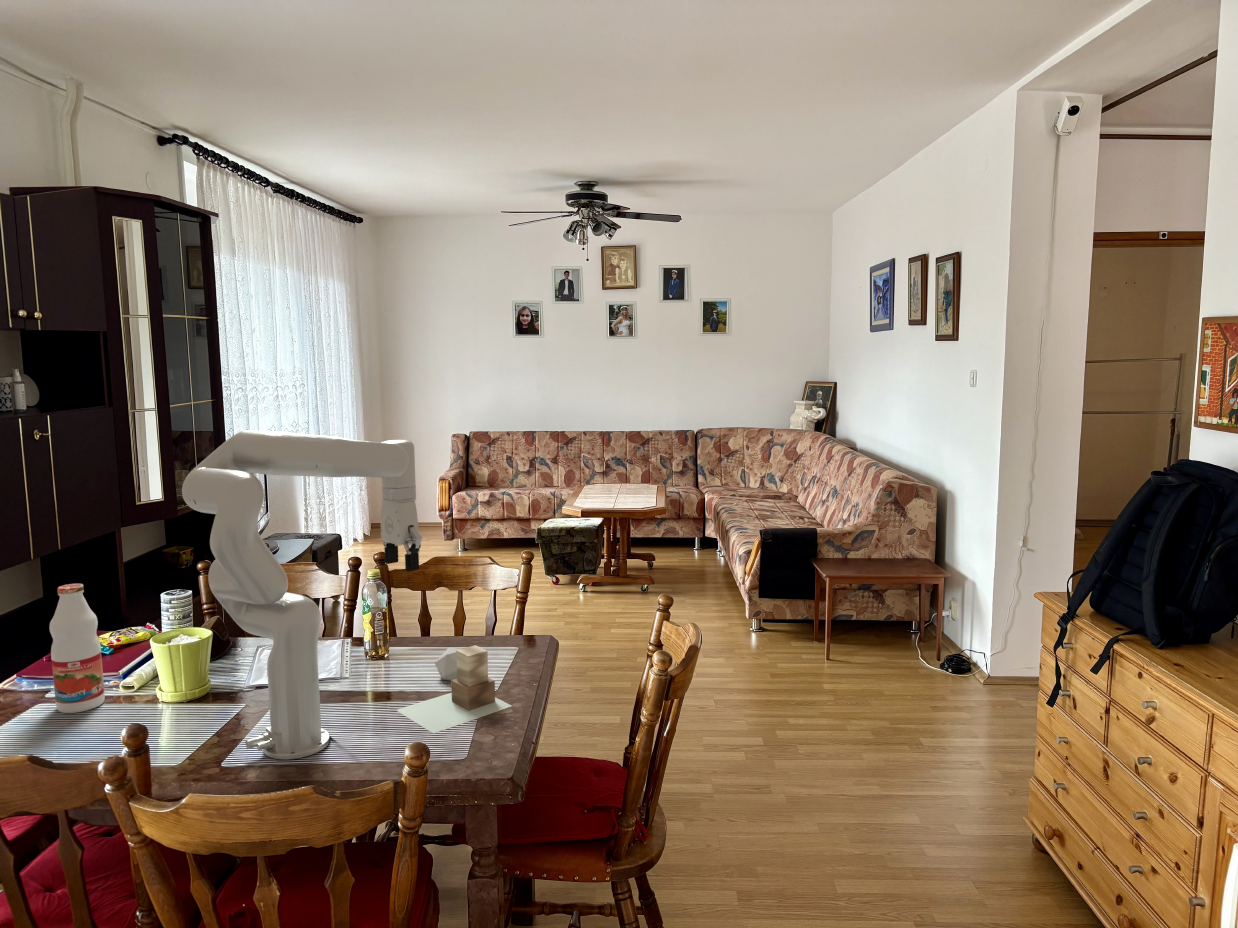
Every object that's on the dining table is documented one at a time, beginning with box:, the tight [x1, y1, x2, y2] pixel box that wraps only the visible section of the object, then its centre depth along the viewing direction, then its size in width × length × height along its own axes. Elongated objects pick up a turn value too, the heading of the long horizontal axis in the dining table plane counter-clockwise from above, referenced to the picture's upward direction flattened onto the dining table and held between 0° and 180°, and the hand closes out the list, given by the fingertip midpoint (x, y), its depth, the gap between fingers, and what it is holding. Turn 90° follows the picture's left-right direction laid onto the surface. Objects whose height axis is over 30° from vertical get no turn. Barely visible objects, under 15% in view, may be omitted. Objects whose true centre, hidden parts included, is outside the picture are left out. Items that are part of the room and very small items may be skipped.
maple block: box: [456, 644, 489, 686], centre depth 186 cm, size 5×5×7 cm
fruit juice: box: [49, 583, 106, 714], centre depth 187 cm, size 9×9×28 cm
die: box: [434, 647, 461, 682], centre depth 202 cm, size 8×9×10 cm
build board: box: [395, 692, 512, 735], centre depth 184 cm, size 20×16×1 cm
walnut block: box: [450, 677, 496, 711], centre depth 187 cm, size 7×7×5 cm
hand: (401, 566), depth 192 cm, fingers open, 9 cm apart
